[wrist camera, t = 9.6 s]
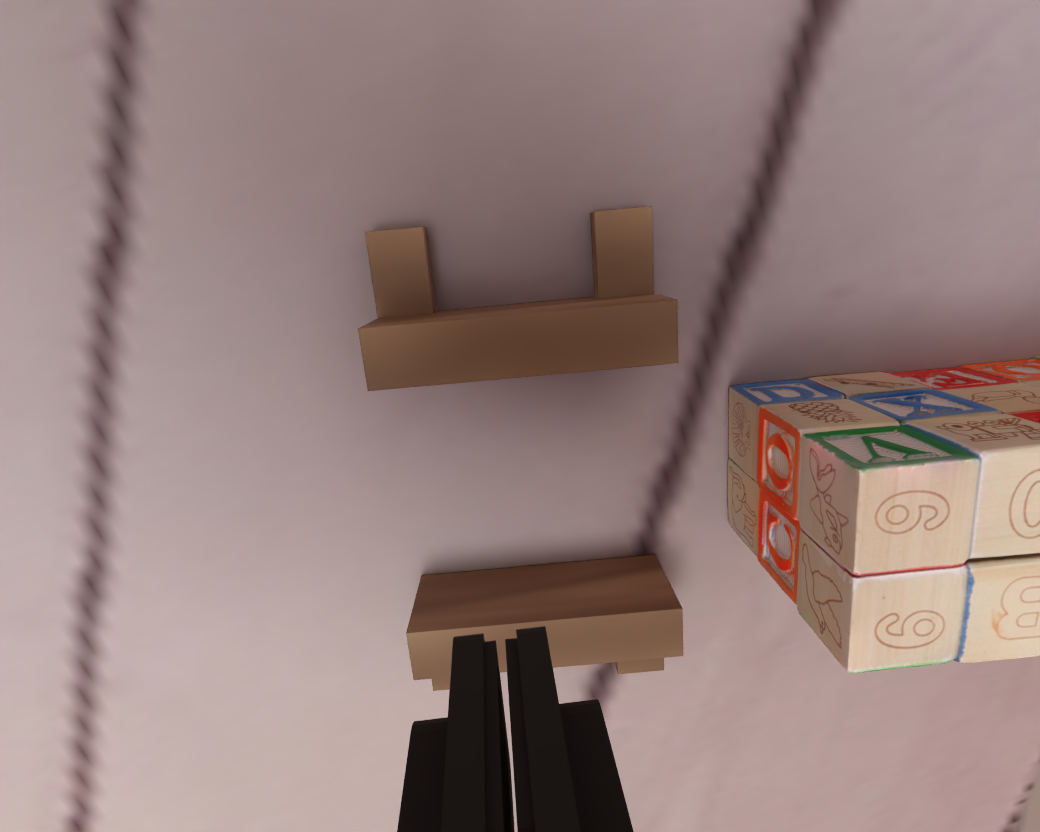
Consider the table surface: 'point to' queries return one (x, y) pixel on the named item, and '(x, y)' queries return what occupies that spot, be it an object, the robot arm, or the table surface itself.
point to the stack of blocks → (897, 508)
